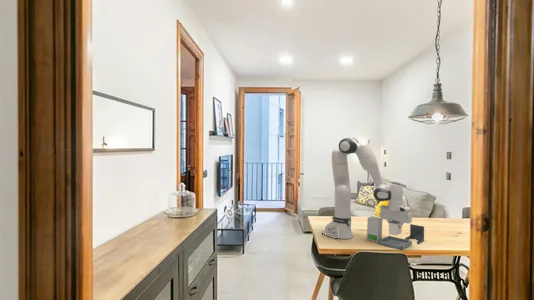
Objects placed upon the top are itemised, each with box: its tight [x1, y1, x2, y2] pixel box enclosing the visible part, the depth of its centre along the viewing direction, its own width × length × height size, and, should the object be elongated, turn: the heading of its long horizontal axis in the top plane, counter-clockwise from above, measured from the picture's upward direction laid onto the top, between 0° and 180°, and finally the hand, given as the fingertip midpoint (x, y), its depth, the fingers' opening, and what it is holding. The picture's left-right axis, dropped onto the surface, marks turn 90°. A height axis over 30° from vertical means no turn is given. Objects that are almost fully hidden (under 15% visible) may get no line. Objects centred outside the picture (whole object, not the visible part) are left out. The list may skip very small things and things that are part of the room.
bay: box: [404, 223, 425, 245], centre depth 207 cm, size 9×10×10 cm
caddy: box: [388, 221, 403, 237], centre depth 200 cm, size 5×8×8 cm, turn 133°
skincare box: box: [366, 215, 383, 243], centre depth 210 cm, size 8×7×16 cm
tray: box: [377, 235, 413, 251], centre depth 200 cm, size 16×16×2 cm
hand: (395, 227), depth 200 cm, fingers closed on caddy, 5 cm apart
